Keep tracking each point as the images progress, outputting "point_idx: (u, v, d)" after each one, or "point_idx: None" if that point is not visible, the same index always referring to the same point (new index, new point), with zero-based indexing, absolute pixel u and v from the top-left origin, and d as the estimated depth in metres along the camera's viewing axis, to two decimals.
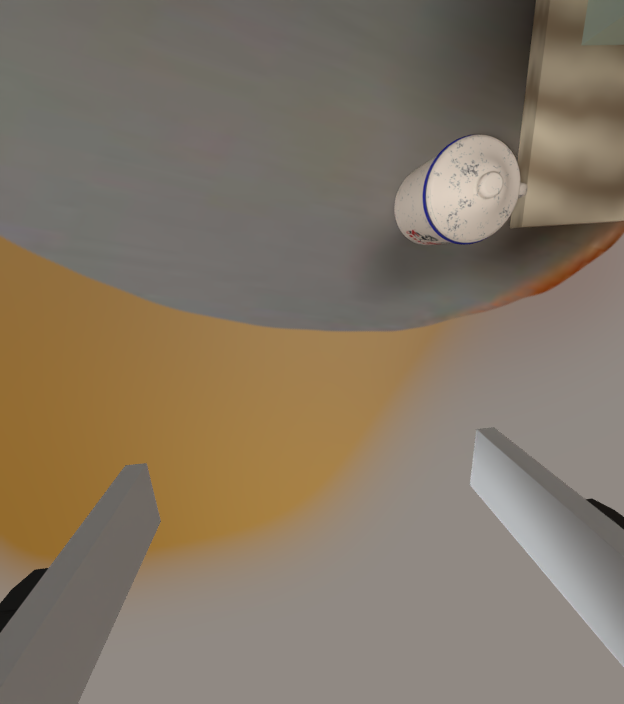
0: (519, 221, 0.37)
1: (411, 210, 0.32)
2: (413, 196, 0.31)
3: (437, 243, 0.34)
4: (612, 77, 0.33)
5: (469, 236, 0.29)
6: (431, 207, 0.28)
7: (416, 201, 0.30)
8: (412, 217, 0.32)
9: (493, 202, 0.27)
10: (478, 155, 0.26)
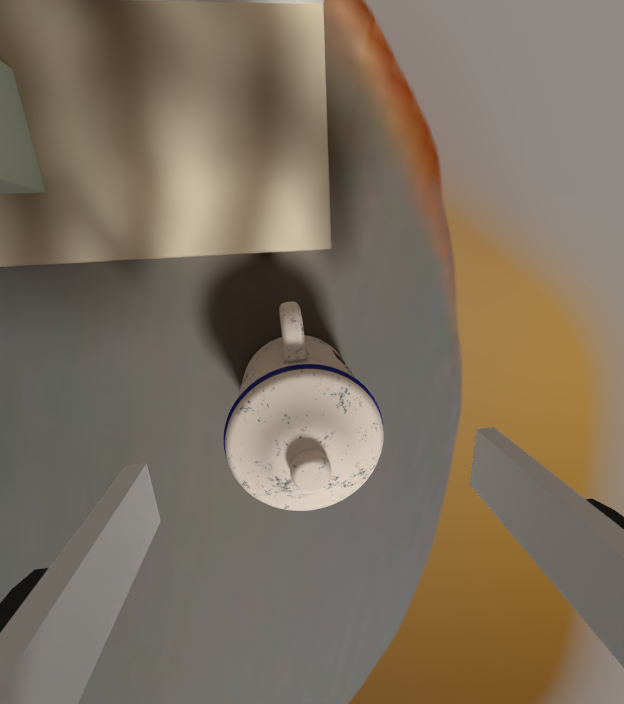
0: (320, 249, 0.22)
1: None
2: None
3: None
4: (76, 110, 0.17)
5: (377, 446, 0.17)
6: (331, 504, 0.18)
7: None
8: None
9: (332, 445, 0.16)
10: (260, 468, 0.16)
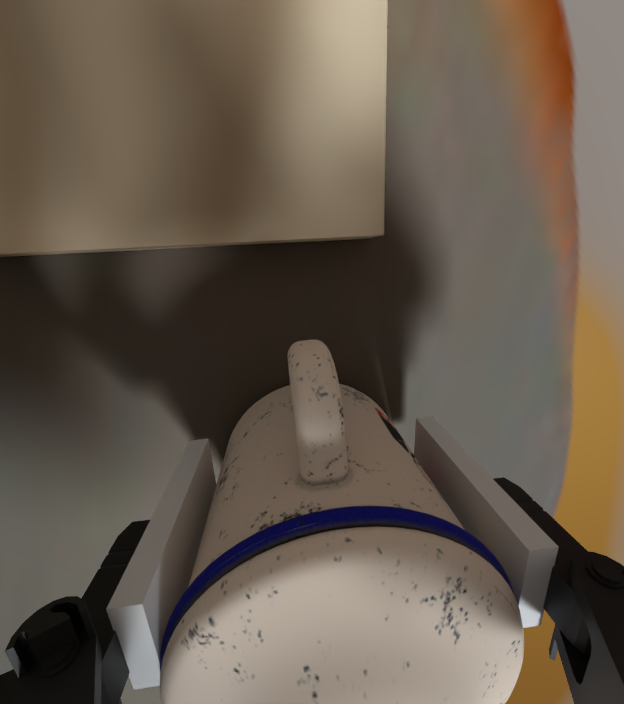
0: (363, 236, 0.12)
1: None
2: None
3: None
4: None
5: (512, 682, 0.08)
6: None
7: None
8: None
9: None
10: None
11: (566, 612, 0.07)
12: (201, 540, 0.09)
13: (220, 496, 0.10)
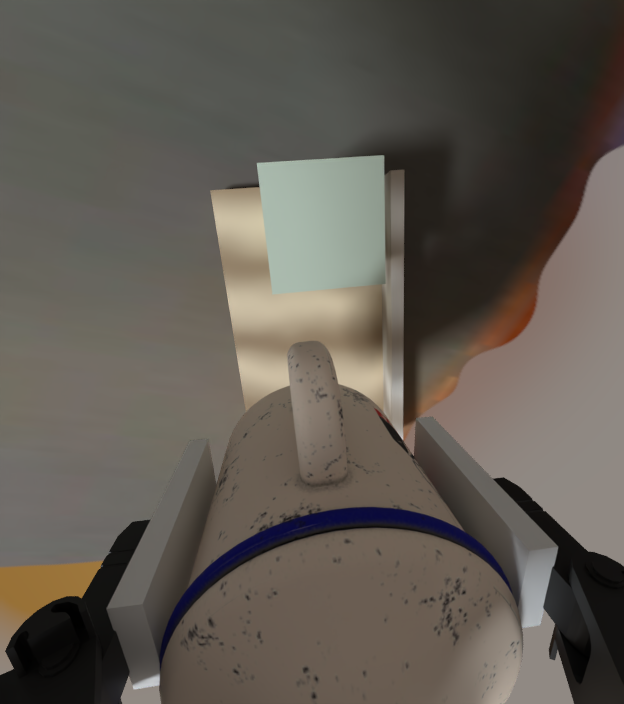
0: None
1: None
2: None
3: None
4: (326, 309, 0.27)
5: (511, 683, 0.08)
6: None
7: None
8: None
9: None
10: None
11: (566, 612, 0.07)
12: (201, 541, 0.09)
13: (220, 497, 0.10)
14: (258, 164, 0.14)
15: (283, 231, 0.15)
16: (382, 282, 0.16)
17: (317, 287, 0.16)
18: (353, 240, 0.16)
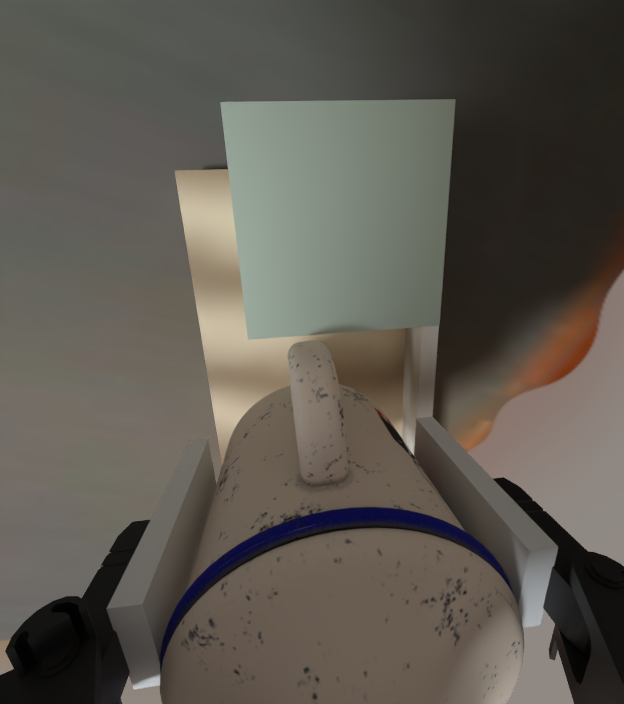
0: None
1: None
2: None
3: None
4: (331, 337, 0.20)
5: (512, 683, 0.08)
6: None
7: None
8: None
9: None
10: None
11: (566, 612, 0.07)
12: (201, 541, 0.09)
13: (220, 497, 0.10)
14: (223, 104, 0.08)
15: (269, 231, 0.09)
16: (434, 323, 0.10)
17: (325, 329, 0.10)
18: (391, 252, 0.09)
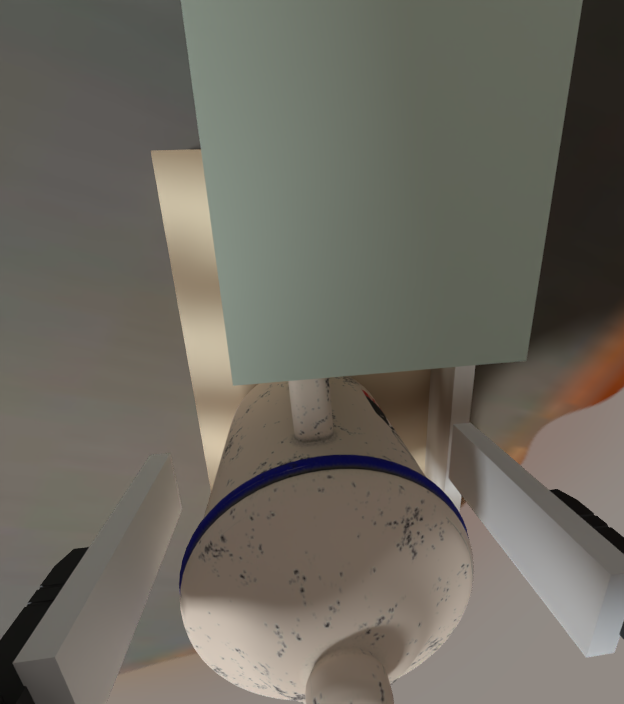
0: None
1: None
2: None
3: None
4: None
5: (464, 601, 0.09)
6: None
7: None
8: None
9: (392, 635, 0.08)
10: (244, 661, 0.08)
11: None
12: None
13: (226, 458, 0.12)
14: None
15: (265, 213, 0.05)
16: (519, 357, 0.06)
17: (353, 368, 0.06)
18: (461, 248, 0.06)
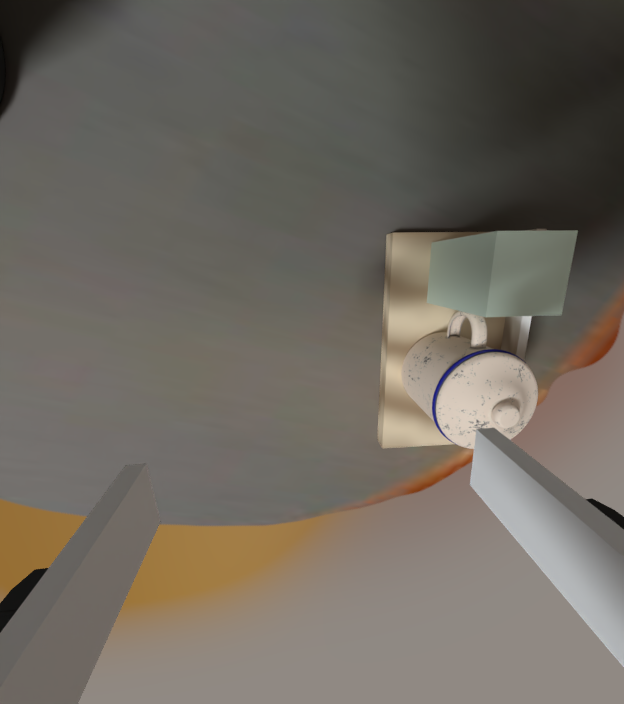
0: (381, 441, 0.37)
1: None
2: None
3: None
4: (461, 327, 0.34)
5: (534, 406, 0.26)
6: None
7: None
8: None
9: (516, 401, 0.24)
10: (464, 414, 0.25)
11: None
12: (429, 373, 0.28)
13: (432, 361, 0.29)
14: (498, 231, 0.21)
15: (503, 275, 0.22)
16: (559, 314, 0.23)
17: (516, 314, 0.23)
18: (546, 284, 0.23)
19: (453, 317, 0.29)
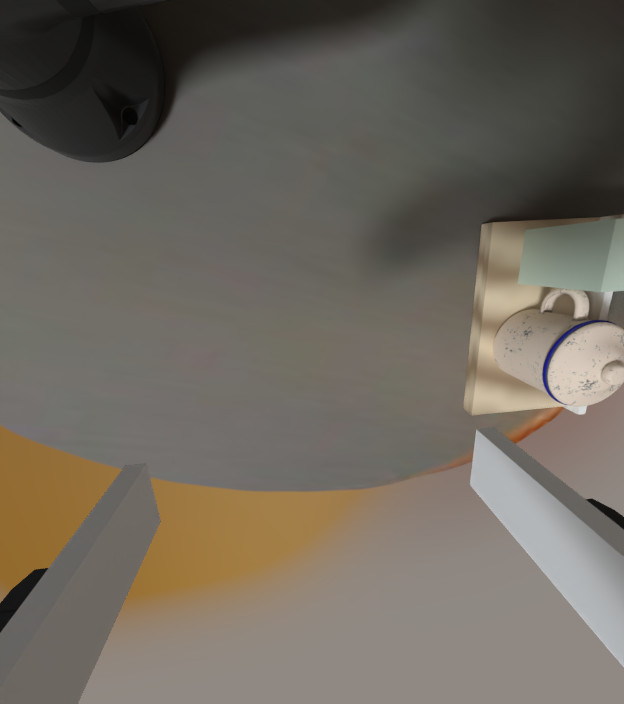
0: (470, 409, 0.42)
1: None
2: None
3: None
4: None
5: None
6: None
7: None
8: None
9: (621, 362, 0.29)
10: (575, 376, 0.30)
11: None
12: (534, 344, 0.33)
13: (535, 333, 0.33)
14: (617, 219, 0.26)
15: (617, 256, 0.27)
16: None
17: None
18: None
19: (550, 295, 0.34)
